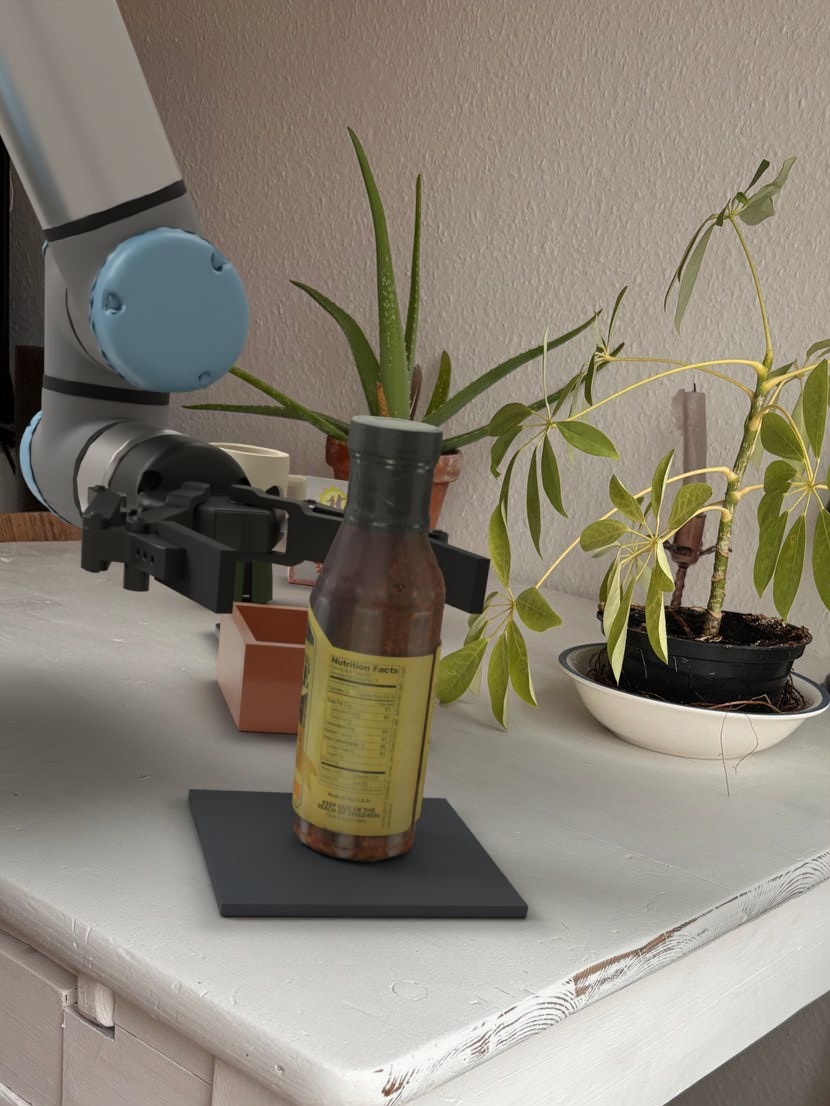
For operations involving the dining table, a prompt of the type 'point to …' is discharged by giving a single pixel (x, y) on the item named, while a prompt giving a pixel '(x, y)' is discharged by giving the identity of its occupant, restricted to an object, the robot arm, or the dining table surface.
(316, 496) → the white red box
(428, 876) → the mat
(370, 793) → the sauce bottle
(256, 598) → the character mug
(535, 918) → the dining table surface
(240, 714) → the holder
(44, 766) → the dining table surface
